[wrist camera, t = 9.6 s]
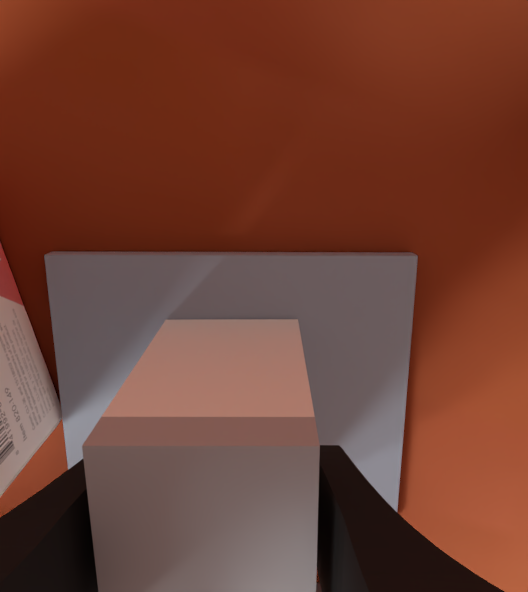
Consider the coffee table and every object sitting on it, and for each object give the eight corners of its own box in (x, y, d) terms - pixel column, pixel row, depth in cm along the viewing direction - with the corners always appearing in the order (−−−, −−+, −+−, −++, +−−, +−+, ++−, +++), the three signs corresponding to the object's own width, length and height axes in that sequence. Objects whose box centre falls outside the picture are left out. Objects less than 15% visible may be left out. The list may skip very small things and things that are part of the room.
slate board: (81, 518, 18) (75, 530, 17) (52, 251, 15) (44, 254, 15) (391, 520, 18) (395, 532, 17) (412, 252, 15) (418, 255, 15)
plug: (176, 490, 17) (112, 713, 10) (166, 319, 15) (82, 446, 8) (295, 491, 17) (312, 715, 10) (297, 319, 15) (319, 445, 8)
